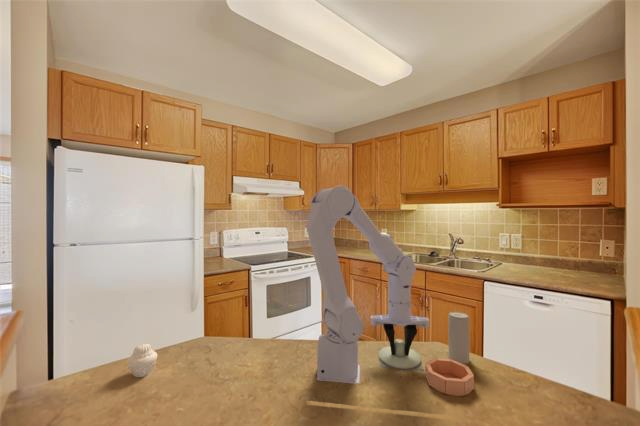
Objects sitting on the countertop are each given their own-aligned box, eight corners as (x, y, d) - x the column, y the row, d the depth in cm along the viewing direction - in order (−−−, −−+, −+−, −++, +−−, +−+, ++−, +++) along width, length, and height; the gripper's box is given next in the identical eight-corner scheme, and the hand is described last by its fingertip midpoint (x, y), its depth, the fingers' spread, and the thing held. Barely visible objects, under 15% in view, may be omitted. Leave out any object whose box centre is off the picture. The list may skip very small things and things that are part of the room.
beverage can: (472, 367, 71) (471, 318, 71) (451, 365, 72) (450, 317, 72) (466, 357, 76) (465, 312, 76) (446, 356, 77) (446, 310, 77)
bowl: (431, 396, 60) (431, 378, 60) (423, 372, 69) (423, 357, 69) (478, 400, 58) (478, 382, 58) (463, 375, 67) (463, 360, 67)
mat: (380, 369, 70) (380, 366, 70) (379, 350, 80) (379, 347, 80) (423, 372, 69) (423, 370, 69) (416, 352, 78) (416, 350, 78)
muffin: (123, 373, 68) (124, 344, 68) (152, 364, 73) (152, 336, 73) (131, 384, 64) (131, 352, 64) (161, 373, 68) (161, 343, 69)
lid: (379, 367, 70) (379, 349, 70) (378, 347, 80) (378, 332, 80) (424, 370, 68) (424, 352, 68) (417, 350, 79) (416, 334, 79)
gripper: (371, 304, 71) (372, 359, 71) (432, 306, 70) (432, 362, 69) (370, 296, 78) (370, 346, 78) (425, 298, 77) (425, 349, 77)
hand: (399, 353), depth 74 cm, fingers closed on lid, 3 cm apart
